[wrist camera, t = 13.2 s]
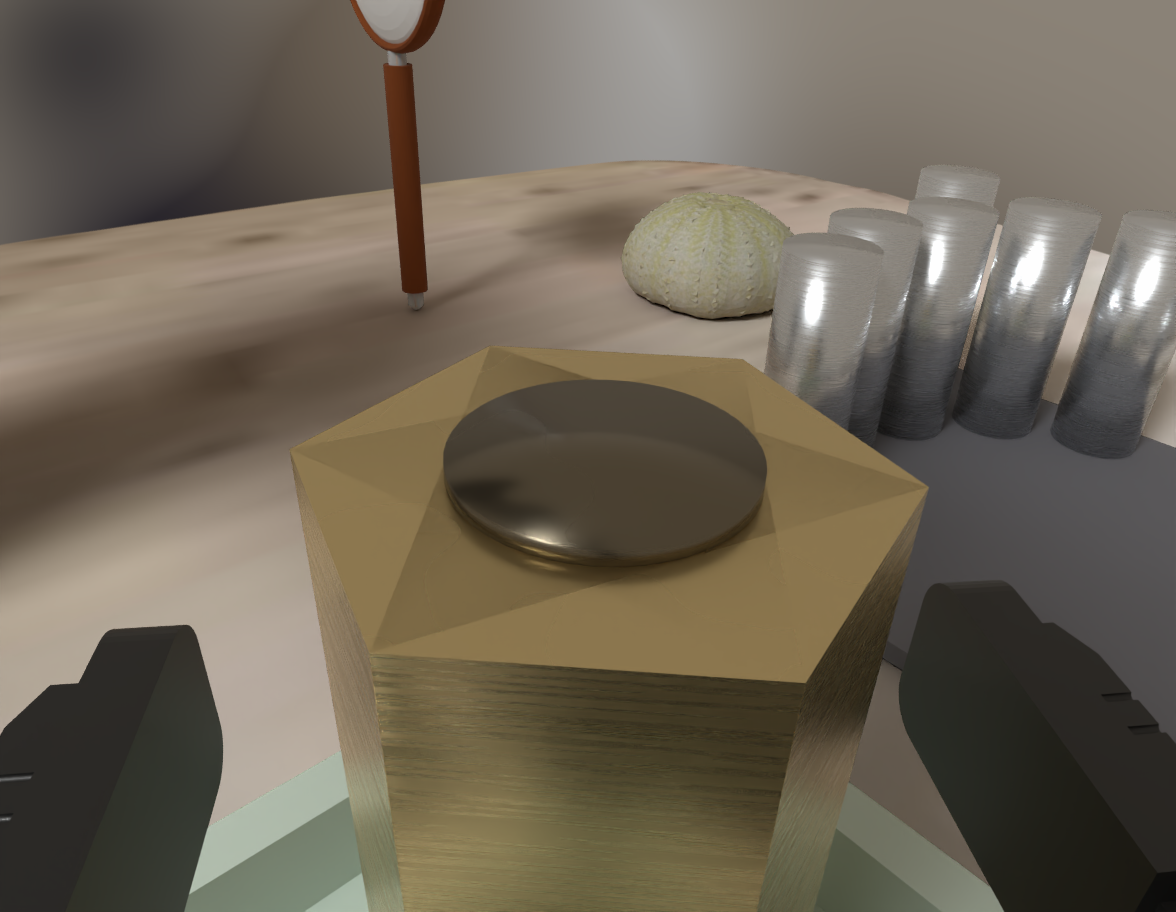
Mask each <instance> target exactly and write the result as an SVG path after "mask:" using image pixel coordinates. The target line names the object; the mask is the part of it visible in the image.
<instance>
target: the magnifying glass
mask: <svg viewBox="0 0 1176 912" xmlns="http://www.w3.org/2000/svg"><path fill="white" fill-rule="evenodd" d="M350 1H351V3H352V6H353V8H354V11H355V13H356V15H357V17H358V19H359V21H360V23H361V24H362V26H363V27H364V29H365V31H366V32H367V34H368V35H369V36H370V38H371V39H372V40H373V41H374V42H375V43H376V44H377V45H379V46H380V47H381V48H383V49H385V50H387V51H388V62H389V63H385V64H384V65H383V67H384V79H385V91H386V103H387V114H388V126H389V138H390V150H391V162H392V173H393V185H394V197H395V209H396V221H397V233H398V244H399V256H400V268H401V280H402V290H403V292H405V293H407V294H408V305H409V306H411V307H412V308H413V309H414V310H418V309H420V308H421V307H422V306H423V305H424V297H423V292H426V291H427V290H428V287H427V272H426V258H425V243H424V229H423V214H422V200H421V185H420V171H419V157H418V142H417V128H416V113H415V99H414V86H413V85H414V84H413V70H412V64H410V63H407V61H406V53H409V52H413V51H415V50H417V49H419V48H420V47H422V46H423V45H424V44H425V43H426V42H427V41H428V40H429V39H430V37H431V36H432V34H433V33H434V31H435V29H436V27H437V25H438V22H439V19H440V17H441V14H442V10H443V6H444V2H445V0H350Z"/></svg>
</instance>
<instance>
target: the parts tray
mask: <svg viewBox="0 0 1176 912" xmlns="http://www.w3.org/2000/svg"><path fill="white" fill-rule="evenodd" d="M184 912H369V911H368V905H367V899H366V893H365V887H364V882H363V876H362V870H361V864H360V858H359V852H358V846H357V841H356V835H355V829H354V823H353V817H352V811H351V806H350V800H349V794H348V788H347V782H346V776H345V771H344V765H343V759H342V753H341V751H339V752H337V753H336V754H334V755H332V756H330V757H329V758H327V759H325V760H324V761H322V762H320V763H318V764H317V765H315V766H313V767H311V768H310V769H308V770H306V771H304V772H303V773H301V774H299V775H297V776H296V777H294V778H292V779H291V780H289V781H287V782H285V783H284V784H282V785H280V786H278V787H277V788H275V789H273V790H271V791H270V792H268V793H266V794H264V795H263V796H261V797H259V798H257V799H256V800H254V801H252V802H251V803H249V804H247V805H245V806H244V807H242V808H240V809H238V810H237V811H235V812H233V813H231V814H230V815H228V816H226V817H224V818H223V819H221V820H219V821H218V822H216V823H214V824H212V825H211V826H209V827H208V828H207V832H206V836H205V839H204V843H203V846H202V850H201V853H200V857H199V861H198V864H197V868H196V871H195V875H194V878H193V882H192V886H191V889H190V893H189V896H188V900H187V903H186V907H185V911H184ZM813 912H1004V911H1003V909H1002V907H1001V905H1000V903H999V901H998V900H997V898H996V896H995V894H994V892H993V890H992V889H991V887H990V886H988V885H987V884H986V883H984V882H983V881H982V880H980V879H979V878H978V877H976V876H975V875H974V874H972V873H971V872H970V871H968V870H967V869H966V868H964V867H963V866H962V865H960V864H959V863H958V862H956V861H955V860H954V859H952V858H951V857H949V856H948V855H947V854H945V853H944V852H943V851H941V850H940V849H939V848H937V847H936V846H935V845H933V844H932V843H931V842H929V841H928V840H927V839H925V838H924V837H923V836H921V835H920V834H919V833H917V832H916V831H915V830H913V829H912V828H910V827H909V826H908V825H906V824H905V823H904V822H902V821H901V820H900V819H898V818H897V817H896V816H894V815H893V814H892V813H890V812H889V811H888V810H886V809H885V808H884V807H882V806H881V805H880V804H878V803H877V802H876V801H874V800H873V799H871V798H870V797H869V796H867V795H866V794H865V793H863V792H862V791H861V790H859V789H858V788H857V787H855V786H854V785H853V784H851V783H850V782H848V786H847V790H846V793H845V797H844V801H843V804H842V808H841V812H840V815H839V819H838V823H837V826H836V830H835V834H834V837H833V841H832V845H831V848H830V852H829V856H828V859H827V863H826V867H825V870H824V874H823V878H822V881H821V885H820V889H819V892H818V896H817V900H816V903H815V907H814V911H813Z"/></svg>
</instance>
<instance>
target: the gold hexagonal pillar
mask: <svg viewBox="0 0 1176 912" xmlns="http://www.w3.org/2000/svg"><path fill="white" fill-rule="evenodd" d="M290 455H291V461H292V467H293V473H294V479H295V485H296V490H297V496H298V502H299V508H300V514H301V520H302V525H303V531H304V537H305V543H306V549H307V555H308V560H309V566H310V572H311V578H312V584H313V590H314V595H315V601H316V607H317V613H318V619H319V625H320V630H321V636H322V642H323V648H324V654H325V660H326V665H327V671H328V677H329V683H330V689H331V695H332V701H333V706H334V712H335V718H336V724H337V730H338V736H339V741H340V747H341V753H342V759H343V765H344V771H345V776H346V782H347V788H348V794H349V800H350V806H351V811H352V817H353V823H354V829H355V835H356V841H357V846H358V852H359V858H360V864H361V870H362V876H363V882H364V887H365V893H366V899H367V905H368V911H369V912H813V911H814V907H815V903H816V900H817V896H818V892H819V889H820V885H821V881H822V878H823V874H824V870H825V867H826V863H827V859H828V856H829V852H830V848H831V845H832V841H833V837H834V834H835V830H836V826H837V823H838V819H839V815H840V812H841V808H842V804H843V801H844V797H845V793H846V790H847V786H848V782H849V779H850V775H851V771H852V768H853V764H854V760H855V757H856V753H857V749H858V746H859V742H860V738H861V735H862V731H863V727H864V724H865V720H866V716H867V713H868V709H869V705H870V702H871V698H872V694H873V691H874V687H875V683H876V680H877V676H878V672H879V669H880V665H881V661H882V658H883V654H884V650H885V647H886V643H887V639H888V636H889V632H890V628H891V625H892V621H893V617H894V614H895V610H896V606H897V603H898V599H899V595H900V592H901V588H902V584H903V581H904V577H905V573H906V570H907V566H908V562H909V559H910V555H911V551H912V548H913V544H914V540H915V537H916V533H917V529H918V526H919V522H920V518H921V515H922V511H923V507H924V504H925V500H926V496H927V493H928V489H929V487H928V486H927V485H925V484H924V483H922V482H921V481H919V480H918V479H916V478H915V477H914V476H912V475H911V474H909V473H908V472H906V471H905V470H903V469H902V468H900V467H899V466H897V465H896V464H895V463H893V462H892V461H890V460H889V459H887V458H886V457H884V456H883V455H881V454H880V453H879V452H877V451H876V450H874V449H873V448H871V447H870V446H868V445H867V444H865V443H864V442H862V441H861V440H860V439H858V438H857V437H855V436H854V435H852V434H851V433H849V432H848V431H846V430H845V429H843V428H842V427H841V426H839V425H838V424H836V423H835V422H833V421H832V420H830V419H829V418H827V417H826V416H825V415H823V414H822V413H820V412H819V411H817V410H816V409H814V408H813V407H811V406H810V405H808V404H807V403H806V402H804V401H803V400H801V399H800V398H798V397H797V396H795V395H794V394H792V393H791V392H789V391H788V390H787V389H785V388H784V387H782V386H781V385H779V384H778V383H776V382H775V381H773V380H772V379H771V378H769V377H768V376H766V375H765V374H763V373H762V372H760V371H759V370H757V369H756V368H754V367H753V366H752V365H750V364H749V363H747V362H746V361H744V360H743V359H729V358H710V357H691V356H673V355H654V354H635V353H617V352H598V351H579V350H561V349H542V348H523V347H505V346H489V347H487V348H485V349H483V350H481V351H479V352H477V353H475V354H473V355H471V356H469V357H467V358H465V359H463V360H461V361H459V362H458V363H456V364H454V365H452V366H450V367H448V368H446V369H444V370H442V371H440V372H438V373H436V374H434V375H432V376H430V377H428V378H427V379H425V380H423V381H421V382H419V383H417V384H415V385H413V386H411V387H409V388H407V389H405V390H403V391H401V392H399V393H398V394H396V395H394V396H392V397H390V398H388V399H386V400H384V401H382V402H380V403H378V404H376V405H374V406H372V407H370V408H368V409H367V410H365V411H363V412H361V413H359V414H357V415H355V416H353V417H351V418H349V419H347V420H345V421H343V422H341V423H339V424H337V425H336V426H334V427H332V428H330V429H328V430H326V431H324V432H322V433H320V434H318V435H316V436H314V437H312V438H310V439H308V440H307V441H305V442H303V443H301V444H299V445H297V446H295V447H293V448H291V449H290Z"/></svg>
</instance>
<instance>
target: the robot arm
mask: <svg viewBox="0 0 1176 912" xmlns="http://www.w3.org/2000/svg"><path fill="white" fill-rule="evenodd" d="M899 704H900V711H901V715H902V720H903V723H904V726H905V729H906V731H907V734H908V736H909V738H910V740H911V741H912V743H913V745H914V747H915V749H916V751H917V753H918V754H919V756H920V758H921V760H922V762H923V764H924V765H925V767H926V769H927V771H928V773H929V775H930V776H931V778H932V780H933V782H934V784H935V786H936V787H937V789H938V791H939V793H940V795H941V797H942V798H943V800H944V802H945V804H946V806H947V808H948V810H949V811H950V813H951V815H952V817H953V819H954V821H955V822H956V824H957V826H958V828H959V830H960V832H961V833H962V835H963V837H964V839H965V841H966V843H967V844H968V846H969V848H970V850H971V852H972V854H973V855H974V857H975V859H976V861H977V863H978V865H979V867H980V868H981V870H982V872H983V874H984V876H985V878H986V879H987V881H988V883H989V885H990V887H991V889H992V890H993V892H994V894H995V896H996V898H997V900H998V901H999V903H1000V905H1001V907H1002V909H1003V911H1004V912H1176V743H1175V742H1174V741H1173V739H1172V738H1171V737H1170V736H1169V735H1168V734H1167V733H1166V732H1163V733H1161V731H1160V730H1159V723H1158V722H1157V721H1156V720H1155V719H1154V717H1153V716H1152V715H1151V714H1150V713H1149V712H1148V710H1147V709H1146V708H1145V707H1144V706H1143V705H1142V704H1141V702H1140V701H1139V700H1133V699H1132V696H1131V691H1130V690H1129V688H1128V687H1127V686H1126V685H1125V684H1124V683H1123V681H1122V680H1121V679H1120V678H1119V677H1118V676H1117V675H1116V673H1115V672H1114V671H1113V670H1112V669H1111V668H1110V666H1109V665H1108V664H1107V663H1106V662H1105V661H1104V659H1103V658H1102V657H1101V656H1100V655H1099V654H1098V653H1097V652H1095V651H1094V650H1092V649H1091V648H1090V647H1088V646H1087V645H1085V644H1084V643H1082V642H1081V641H1079V640H1078V639H1077V638H1075V637H1074V636H1072V635H1071V634H1069V633H1068V632H1067V631H1065V630H1064V629H1062V628H1061V627H1059V626H1058V625H1056V624H1055V623H1054V622H1051V623H1042V622H1041V621H1040V620H1039V618H1038V617H1037V616H1036V615H1035V613H1034V612H1033V611H1032V610H1031V609H1030V607H1029V606H1028V605H1027V604H1026V603H1025V601H1024V600H1023V599H1022V598H1021V596H1020V595H1019V594H1018V593H1017V592H1016V590H1015V589H1014V588H1013V587H1012V586H1011V585H1009V584H1008V583H1007V582H1005V581H1002V580H983V581H966V582H949V583H936V584H934V585H932V586H931V587H930V588H929V589H928V590H927V592H926V594H925V596H924V599H923V602H922V606H921V609H920V613H919V616H918V619H917V623H916V626H915V630H914V633H913V637H912V640H911V644H910V647H909V650H908V654H907V657H906V661H905V664H904V668H903V671H902V675H901V679H900V684H899ZM222 764H223V738H222V730H221V725H220V721H219V717H218V713H217V710H216V706H215V702H214V698H213V695H212V691H211V687H210V683H209V680H208V676H207V672H206V669H205V665H204V661H203V657H202V654H201V650H200V646H199V643H198V639H197V636H196V634H195V632H194V630H193V629H192V627H190V626H189V625H175V626H158V627H141V628H124V629H112V630H109V631H108V632H106V633H105V634H104V636H103V637H102V638H101V640H100V642H99V644H98V646H97V647H96V649H95V651H94V653H93V655H92V657H91V659H90V661H89V663H88V665H87V667H86V669H85V671H84V673H83V675H82V677H81V679H80V681H79V683H76V684H60V685H50V686H49V687H48V688H47V689H46V690H45V691H43V692H42V693H41V694H40V695H39V696H38V697H37V698H36V699H35V700H34V701H33V702H32V703H31V704H30V705H28V706H27V707H26V708H25V709H24V710H23V711H22V712H21V713H20V714H19V715H18V716H17V717H16V718H14V719H13V720H12V721H11V722H10V723H9V724H8V725H7V726H6V727H5V728H4V730H3V731H2V733H1V735H0V912H184V911H185V907H186V903H187V900H188V896H189V893H190V889H191V886H192V882H193V878H194V875H195V871H196V868H197V864H198V861H199V857H200V853H201V850H202V846H203V843H204V839H205V836H206V832H207V828H208V825H209V821H210V818H211V814H212V811H213V807H214V803H215V800H216V796H217V793H218V789H219V785H220V780H221V773H222Z"/></svg>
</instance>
